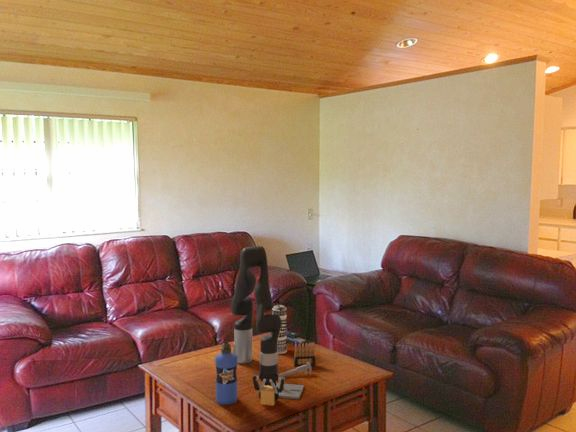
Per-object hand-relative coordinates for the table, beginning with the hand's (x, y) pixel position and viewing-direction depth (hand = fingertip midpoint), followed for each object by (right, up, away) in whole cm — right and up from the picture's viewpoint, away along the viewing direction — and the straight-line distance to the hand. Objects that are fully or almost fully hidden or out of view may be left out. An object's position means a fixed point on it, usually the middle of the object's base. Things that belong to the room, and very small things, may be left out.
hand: (268, 400), depth 210 cm
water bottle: (-18, -1, +2) cm, 18 cm away
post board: (+5, 0, +10) cm, 11 cm away
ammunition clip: (+17, +3, +39) cm, 43 cm away
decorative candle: (+3, +4, +59) cm, 60 cm away
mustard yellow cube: (0, -1, 0) cm, 1 cm away
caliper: (+10, +1, +27) cm, 28 cm away
